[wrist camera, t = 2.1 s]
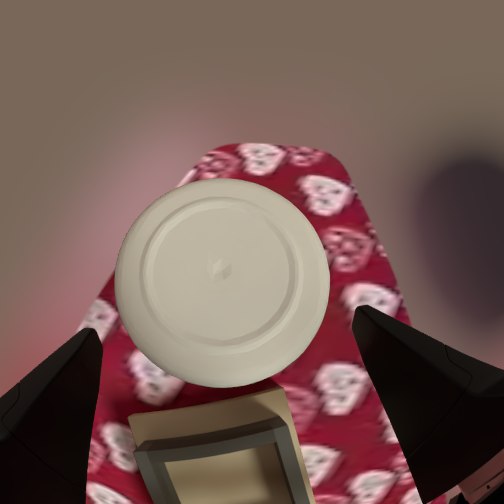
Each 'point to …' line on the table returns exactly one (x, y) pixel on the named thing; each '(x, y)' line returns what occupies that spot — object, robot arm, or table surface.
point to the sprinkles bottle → (222, 282)
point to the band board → (223, 452)
